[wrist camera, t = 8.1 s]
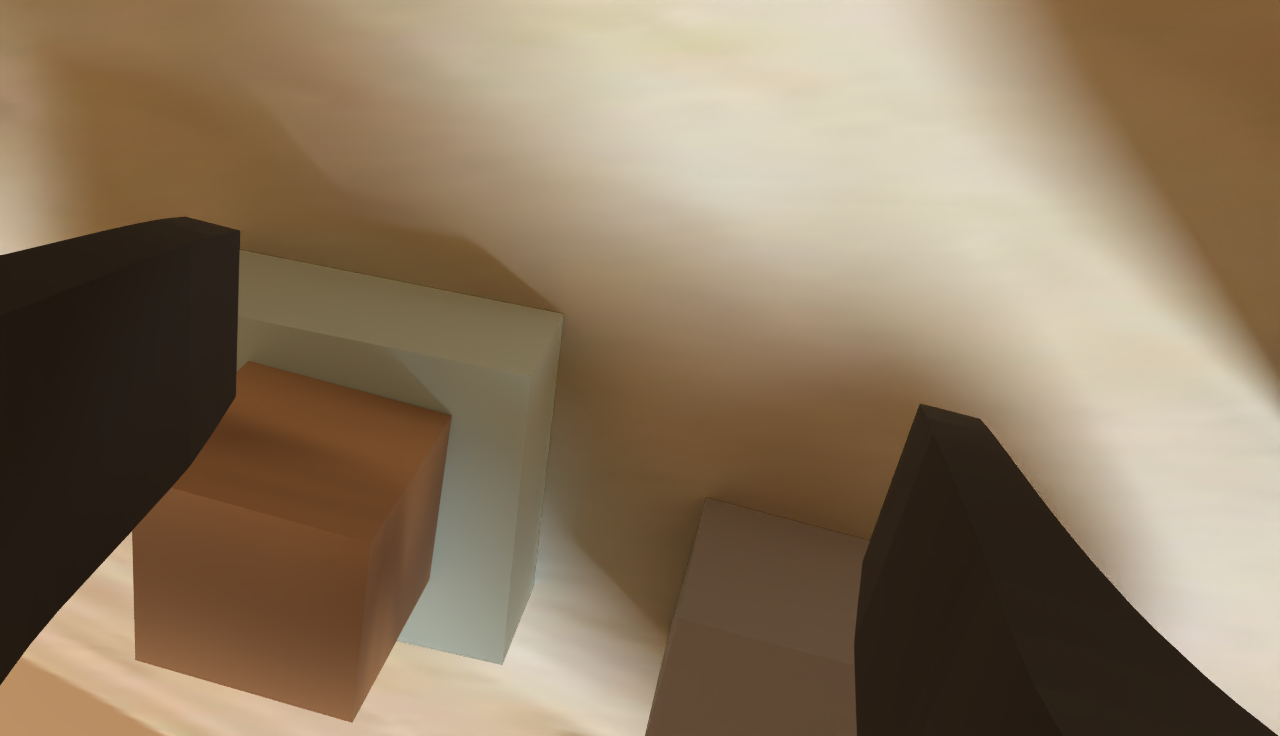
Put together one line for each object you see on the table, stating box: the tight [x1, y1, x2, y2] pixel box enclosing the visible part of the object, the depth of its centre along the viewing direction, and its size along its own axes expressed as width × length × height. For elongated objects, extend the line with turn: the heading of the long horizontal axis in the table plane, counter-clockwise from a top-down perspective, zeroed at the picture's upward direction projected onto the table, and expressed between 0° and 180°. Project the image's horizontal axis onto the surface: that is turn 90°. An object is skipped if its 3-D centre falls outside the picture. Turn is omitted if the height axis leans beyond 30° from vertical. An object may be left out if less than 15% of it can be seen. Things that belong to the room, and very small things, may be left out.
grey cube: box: [645, 498, 870, 736], centre depth 24 cm, size 4×4×4 cm
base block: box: [237, 250, 564, 665], centre depth 25 cm, size 7×7×3 cm
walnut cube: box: [132, 361, 452, 722], centre depth 22 cm, size 4×4×4 cm
